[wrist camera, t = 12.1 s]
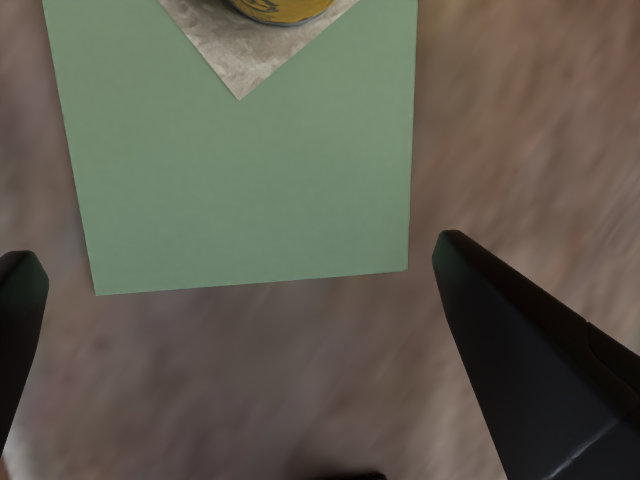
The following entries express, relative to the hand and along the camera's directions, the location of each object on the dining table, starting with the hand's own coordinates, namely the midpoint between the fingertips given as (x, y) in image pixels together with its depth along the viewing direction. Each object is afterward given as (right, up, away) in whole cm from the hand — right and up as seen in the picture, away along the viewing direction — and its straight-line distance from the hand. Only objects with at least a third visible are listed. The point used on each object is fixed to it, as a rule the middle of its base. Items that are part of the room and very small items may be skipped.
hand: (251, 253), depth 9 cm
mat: (-2, +9, +8) cm, 12 cm away
